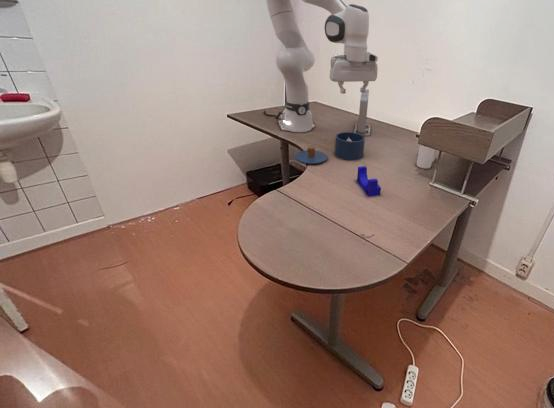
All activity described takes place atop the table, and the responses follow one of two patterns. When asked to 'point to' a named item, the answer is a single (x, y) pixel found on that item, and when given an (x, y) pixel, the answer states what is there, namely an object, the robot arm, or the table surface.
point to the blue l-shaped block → (367, 182)
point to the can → (425, 157)
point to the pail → (349, 146)
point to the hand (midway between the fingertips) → (352, 92)
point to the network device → (363, 115)
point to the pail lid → (311, 156)
